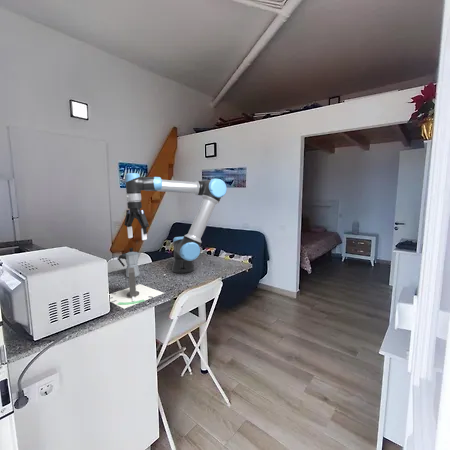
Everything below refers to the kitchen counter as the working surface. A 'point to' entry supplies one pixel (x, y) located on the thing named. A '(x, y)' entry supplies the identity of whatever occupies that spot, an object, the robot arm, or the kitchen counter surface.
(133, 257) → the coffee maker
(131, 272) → the grey piece
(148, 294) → the board
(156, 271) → the kitchen counter surface
